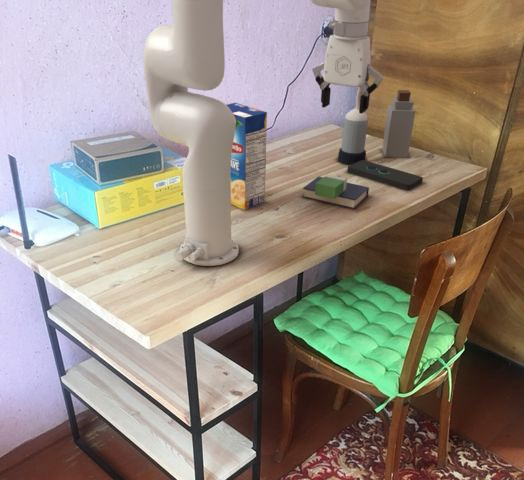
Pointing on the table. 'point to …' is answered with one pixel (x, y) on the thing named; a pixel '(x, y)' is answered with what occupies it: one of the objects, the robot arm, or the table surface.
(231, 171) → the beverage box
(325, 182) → the green and white eraser
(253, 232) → the table surface
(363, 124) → the humidifier
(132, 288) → the table surface
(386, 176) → the smart home device
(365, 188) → the book
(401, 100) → the perfume bottle
